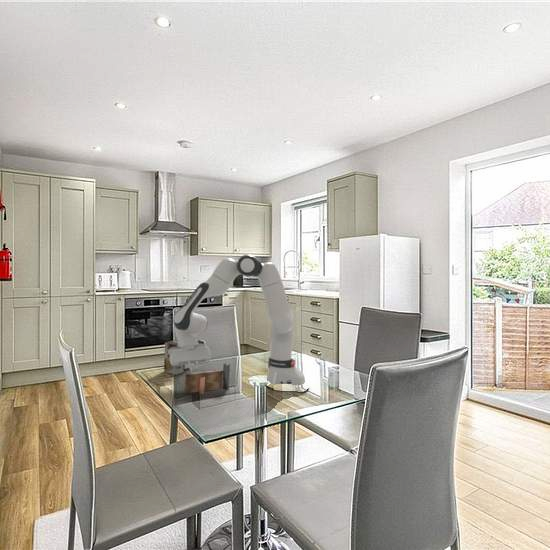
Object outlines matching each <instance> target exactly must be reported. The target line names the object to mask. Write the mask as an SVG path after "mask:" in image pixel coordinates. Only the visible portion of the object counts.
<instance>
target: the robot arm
mask: <svg viewBox="0 0 550 550" xmlns="http://www.w3.org/2000/svg"><path fill="white" fill-rule="evenodd" d="M239 275H241V276H244V277H256V278H257V279H258V280H257V281H258V282H259V285H260V288H261V292H262V295H263V297H264V301H265V305H266V310H267V314H268V317H269V321H270V325H271V336H270V347H269V357H268V361H267V363H268V364H267V365H268V371H267V375H266V379H265V381H266V380H267V381H269V382H270V383H271V384H273V385H275V384H292V385H301V384H304V383H305V382H306V379H305V374H304V373H303V372H302V371H301V370H300V369H298V367H296V359H295V358H292V353H293V351H292V350H293V337H294V327H295V325H294V324H295V316H294V314H293V312H292V311H291V309H290V308H291V307H290V305H289V301H288V297H287V293H286V289H285V287H284V284H283V280H282V278H281V274H280V272H279V270H278V268H277V266H276V265H275V264H274V263H273V262H261V261H259V259H258V258H257V257H256V256H255V255H254V254H243V255H241V256H240V257H239V258H238V260H234V259H233V258H229V257H225V258H222V260H221V261H220V262H219V263H218V265H216V268H215V269H214V271H213V272H212V274H211V275H210V276H209V278H207V280H205V281H204V282H202V283H200V284H199V285H198V286H197V287H196V288H195V290H194V291H193V292H192V293H191V295H190V296H189V297H188V299H187V300H186V301H185V302H184V304H183V305H182V306H181V307H180V308H179V309H178V310H177V311H176V312H175V314H173V319H172V320H173V325H174V334H175V337H176V339H177V341H178V346H179V347H172V348H170V349H169V350H168V354H169V355H170V364H171V365H172V366H176V365H184V364H187V366H188V367H189V368H188V369H189V370H190V372H198V365H199V363H200V364H201V363H209V362H210V361H211V359H212V353H211V351H210V348H209V346H207V342H206V340H202V339H197V338H196V337H198V336H199V335H201V334H203V333H204V332H205V331H206V330H207V328H208V318H207V317H206V316H205V315H203V314H200V313H196V312H195V310H196V309H197V307H198V306H199V305H200V304H201V303H202V301H203V300H204V299H207V298H209V297H219V296H223V295H225V294H226V293H227V292H228V291H229V289H230V288H231V286H232V284H233V283H234V281H235V279H236V278H237V277H238V276H239ZM193 363H194V366H193V367H192V366H191V365H190V364H193Z"/></svg>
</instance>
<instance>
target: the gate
mask: <svg viewBox="0 0 550 550" xmlns="http://www.w3.org/2000/svg"><path fill="white" fill-rule="evenodd" d="M184 377H185V378H184V379H185V380H184V393H185V394H190V393H197V392H198V393H199V384H200V377H205V388H204V392H205V391H211V390H212V391H213V390H221V389H222V383H223V369H217V370H207V371H206V370H205V371H194V372H189V373H187V372H186V373H185V376H184ZM222 390H223V389H222Z"/></svg>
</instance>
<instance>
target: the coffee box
mask: <svg viewBox="0 0 550 550" xmlns="http://www.w3.org/2000/svg"><path fill="white" fill-rule="evenodd" d="M172 347H179V346H178V340H177V341H176V340H169V341H167V342H164V359H163V360H164V362H163V363H164V365H163V372H165V373H168V374H172V375H178V374H182V373H184V372H185V369H184V365H176V366H172V365H171V364H170V355H169V354H168V350H169V349H170V348H172Z"/></svg>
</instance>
